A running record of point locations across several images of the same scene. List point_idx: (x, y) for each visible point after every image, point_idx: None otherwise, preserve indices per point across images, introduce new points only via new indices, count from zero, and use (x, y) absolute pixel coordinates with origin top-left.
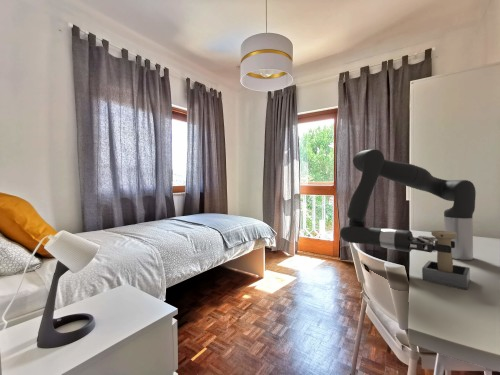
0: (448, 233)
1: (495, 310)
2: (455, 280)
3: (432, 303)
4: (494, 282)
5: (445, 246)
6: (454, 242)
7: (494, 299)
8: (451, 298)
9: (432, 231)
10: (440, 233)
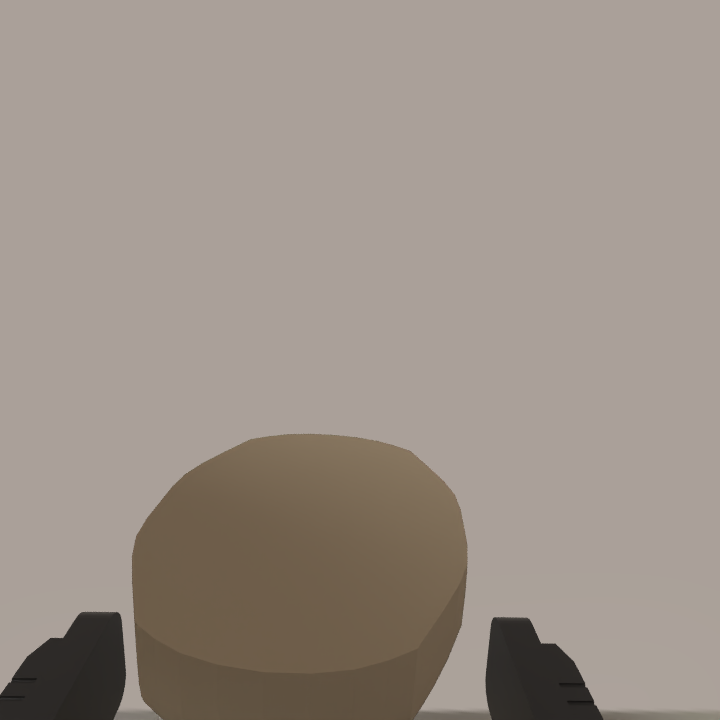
0: (404, 476)
1: (686, 711)
2: None
3: None
4: (117, 715)
5: (541, 668)
6: (118, 615)
7: None
8: None
9: (338, 650)
10: (463, 542)
